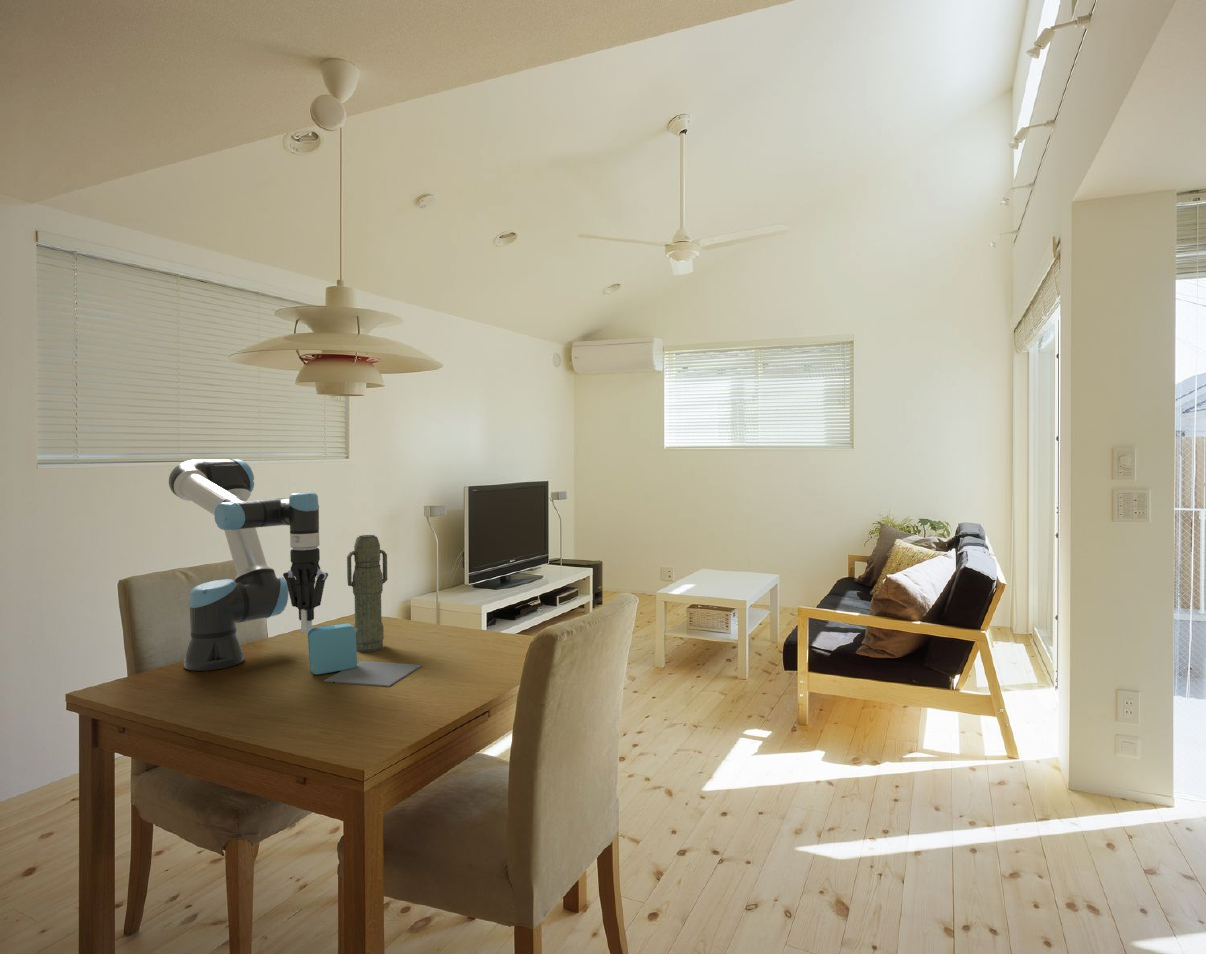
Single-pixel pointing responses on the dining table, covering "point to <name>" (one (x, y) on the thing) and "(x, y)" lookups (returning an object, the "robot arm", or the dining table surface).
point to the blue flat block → (332, 648)
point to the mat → (374, 673)
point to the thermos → (367, 592)
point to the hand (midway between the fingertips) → (306, 631)
